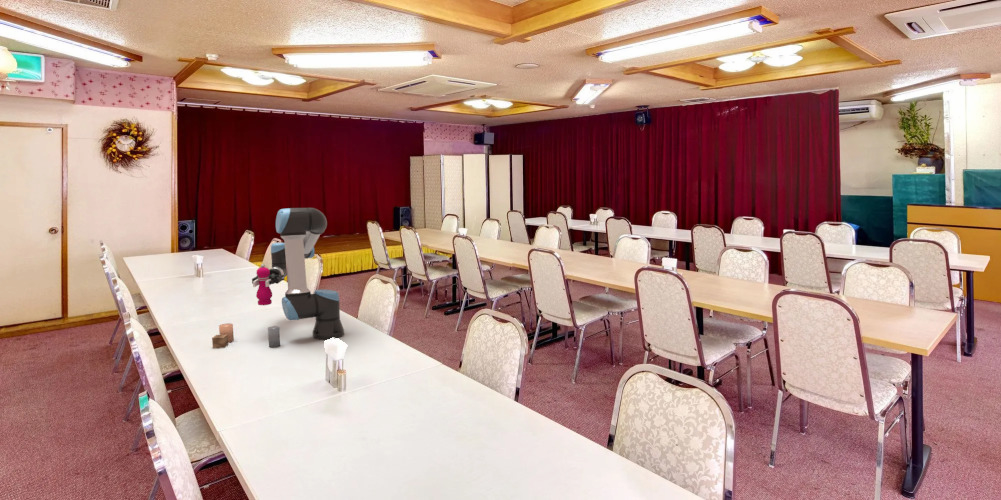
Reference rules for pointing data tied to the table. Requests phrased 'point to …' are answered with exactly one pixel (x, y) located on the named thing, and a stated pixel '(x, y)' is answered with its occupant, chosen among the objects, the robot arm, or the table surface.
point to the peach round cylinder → (227, 331)
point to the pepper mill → (263, 286)
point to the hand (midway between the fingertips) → (260, 284)
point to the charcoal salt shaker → (274, 336)
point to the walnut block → (220, 341)
